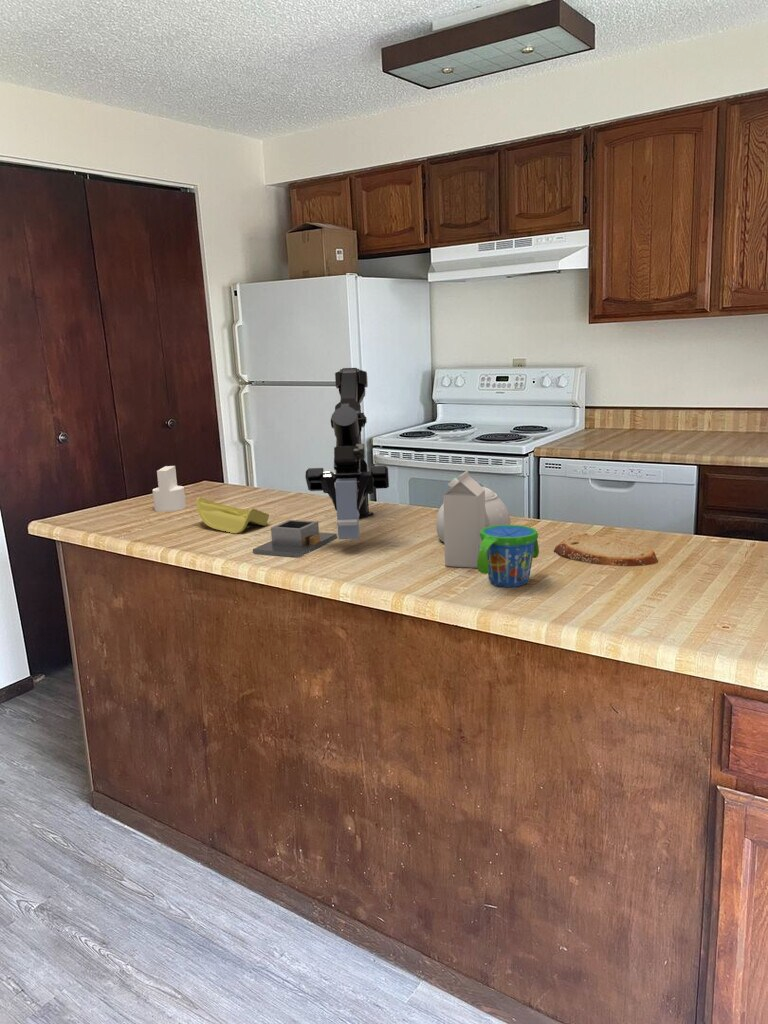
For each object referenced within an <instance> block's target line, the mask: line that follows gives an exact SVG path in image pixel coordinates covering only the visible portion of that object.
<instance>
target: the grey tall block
mask: <svg viewBox="0 0 768 1024" xmlns="http://www.w3.org/2000/svg"><path fill="white" fill-rule="evenodd" d="M335 489H336V505H337V511H336V517H337V518H336V523H335V524H336V526H337V538H338V540H359V539H360V534H361V533H360V518H359V512H358V510H357V497H358V492H357V478H343V479H337V480H336V482H335Z"/></svg>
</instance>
